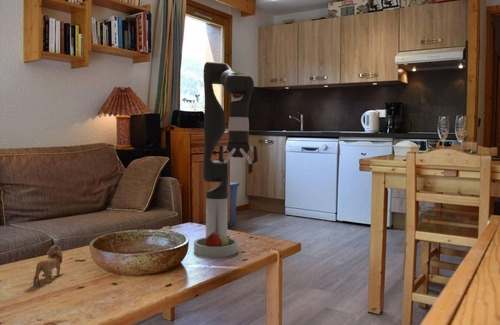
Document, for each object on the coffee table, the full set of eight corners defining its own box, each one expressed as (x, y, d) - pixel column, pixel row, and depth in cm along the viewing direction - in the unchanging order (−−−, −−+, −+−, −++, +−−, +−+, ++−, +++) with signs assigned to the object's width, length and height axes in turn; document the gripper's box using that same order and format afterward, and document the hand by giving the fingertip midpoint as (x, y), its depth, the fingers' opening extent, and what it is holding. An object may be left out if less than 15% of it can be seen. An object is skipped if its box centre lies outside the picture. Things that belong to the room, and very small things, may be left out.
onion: (213, 255, 156) (214, 233, 156) (202, 253, 160) (202, 231, 159) (224, 252, 161) (224, 231, 160) (212, 249, 164) (213, 229, 164)
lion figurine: (48, 271, 138) (48, 244, 138) (65, 271, 139) (65, 243, 138) (29, 288, 124) (28, 257, 123) (48, 287, 124) (48, 256, 124)
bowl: (199, 246, 172) (199, 236, 171) (239, 248, 170) (239, 237, 170) (189, 258, 156) (190, 246, 155) (234, 260, 154) (234, 248, 154)
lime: (216, 247, 168) (217, 234, 168) (229, 247, 168) (229, 235, 168) (214, 250, 163) (214, 237, 163) (227, 251, 163) (228, 238, 163)
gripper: (258, 130, 162) (258, 173, 163) (221, 129, 163) (220, 172, 165) (257, 130, 155) (256, 175, 156) (217, 129, 156) (217, 174, 157)
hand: (238, 173), depth 160 cm, fingers open, 8 cm apart
